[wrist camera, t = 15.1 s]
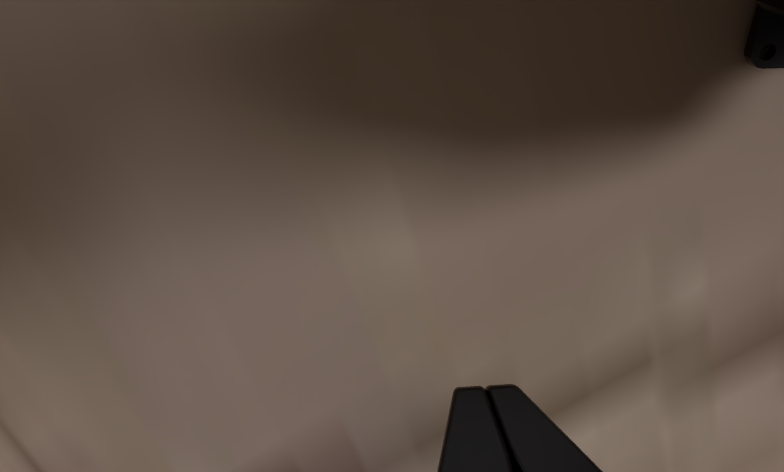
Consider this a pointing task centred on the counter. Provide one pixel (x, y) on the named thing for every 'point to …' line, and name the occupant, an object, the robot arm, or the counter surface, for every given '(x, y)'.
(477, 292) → the counter surface
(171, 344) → the counter surface
